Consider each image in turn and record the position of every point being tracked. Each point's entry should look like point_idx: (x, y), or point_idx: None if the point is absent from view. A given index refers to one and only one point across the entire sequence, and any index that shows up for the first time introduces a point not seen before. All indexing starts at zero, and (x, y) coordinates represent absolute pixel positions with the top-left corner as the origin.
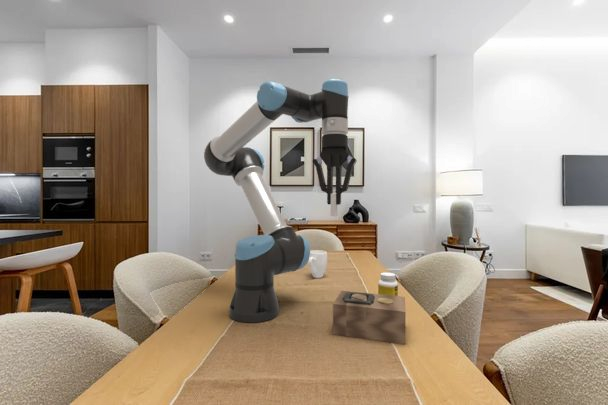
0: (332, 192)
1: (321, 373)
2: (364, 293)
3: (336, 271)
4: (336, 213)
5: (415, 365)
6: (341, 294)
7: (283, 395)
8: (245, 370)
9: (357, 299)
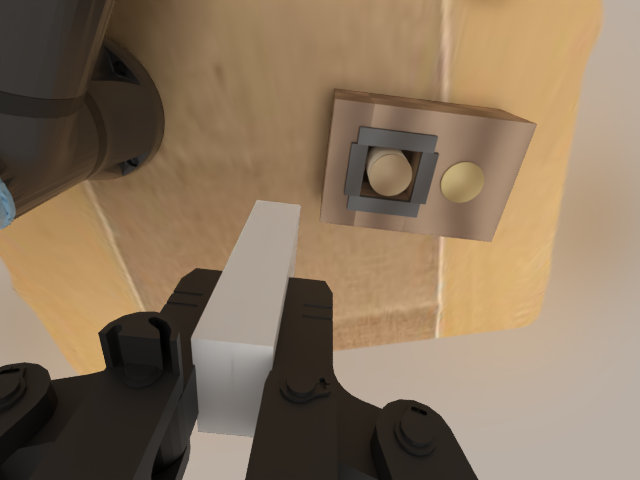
0: (181, 356)
1: None
2: (410, 138)
3: None
4: (295, 250)
5: (459, 274)
6: (337, 140)
7: None
8: None
9: (384, 194)
